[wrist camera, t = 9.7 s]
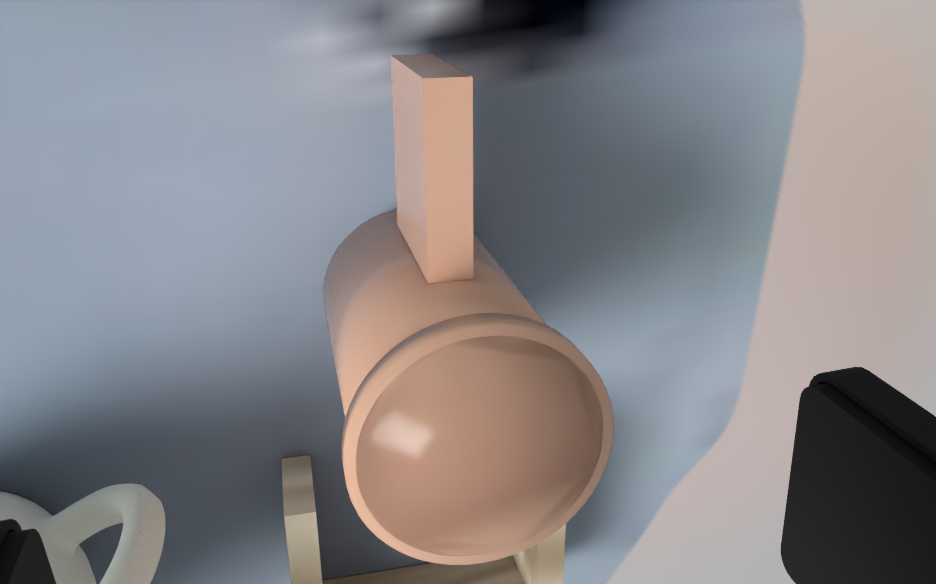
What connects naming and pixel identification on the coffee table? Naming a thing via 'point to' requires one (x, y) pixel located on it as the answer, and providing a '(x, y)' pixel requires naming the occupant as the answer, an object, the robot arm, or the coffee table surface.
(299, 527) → the holder
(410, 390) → the peach cylinder
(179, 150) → the coffee table surface
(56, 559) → the pitcher
